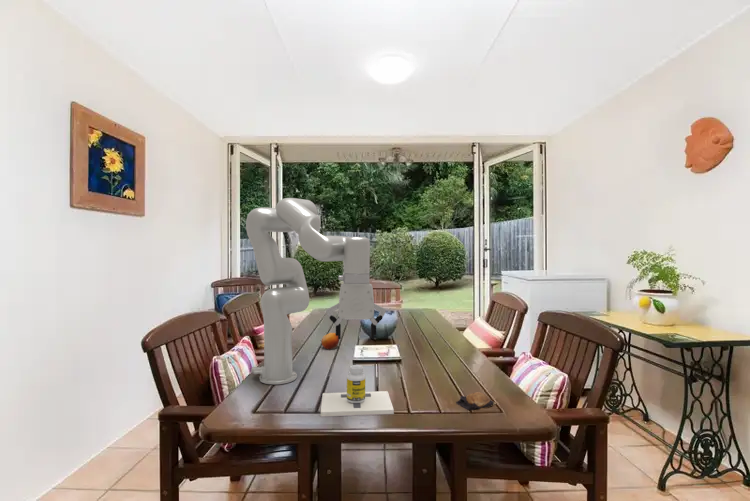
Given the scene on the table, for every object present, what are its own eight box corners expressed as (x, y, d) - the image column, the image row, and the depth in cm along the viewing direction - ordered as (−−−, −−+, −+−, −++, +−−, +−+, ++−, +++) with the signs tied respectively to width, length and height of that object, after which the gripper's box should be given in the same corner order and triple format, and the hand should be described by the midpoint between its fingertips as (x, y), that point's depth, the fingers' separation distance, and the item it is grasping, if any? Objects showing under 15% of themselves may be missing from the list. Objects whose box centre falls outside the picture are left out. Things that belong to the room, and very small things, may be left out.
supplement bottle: (351, 405, 113) (351, 370, 113) (343, 398, 118) (343, 365, 118) (368, 401, 116) (368, 367, 116) (360, 395, 121) (360, 363, 121)
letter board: (320, 416, 109) (320, 411, 109) (322, 397, 123) (322, 392, 123) (393, 414, 111) (393, 408, 111) (387, 394, 125) (387, 390, 125)
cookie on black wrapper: (478, 397, 125) (478, 385, 125) (499, 406, 118) (499, 394, 118) (452, 404, 119) (452, 391, 119) (472, 414, 112) (472, 401, 112)
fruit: (342, 347, 177) (333, 331, 177) (327, 356, 177) (317, 340, 177) (344, 342, 185) (335, 327, 185) (329, 351, 185) (320, 336, 185)
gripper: (326, 280, 112) (325, 341, 112) (387, 280, 113) (386, 341, 114) (326, 278, 119) (326, 335, 120) (384, 278, 121) (383, 334, 121)
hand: (355, 338), depth 117 cm, fingers open, 9 cm apart
